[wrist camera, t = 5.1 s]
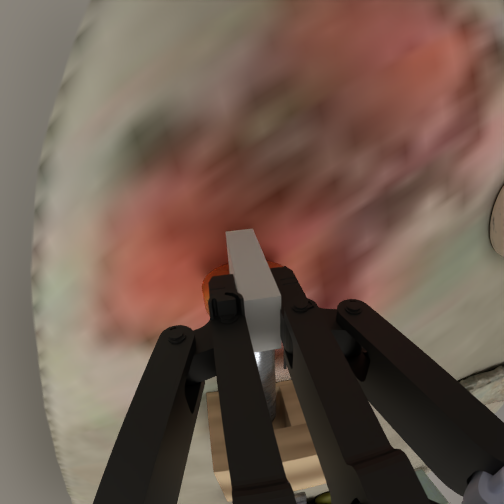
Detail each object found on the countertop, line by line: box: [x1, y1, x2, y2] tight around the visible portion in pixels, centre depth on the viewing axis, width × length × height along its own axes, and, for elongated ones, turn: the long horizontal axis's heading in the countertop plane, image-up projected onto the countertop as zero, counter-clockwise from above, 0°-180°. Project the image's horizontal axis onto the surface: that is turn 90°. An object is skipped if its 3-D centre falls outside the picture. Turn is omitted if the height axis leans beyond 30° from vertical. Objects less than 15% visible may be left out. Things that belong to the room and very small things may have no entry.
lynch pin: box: [202, 261, 283, 422], centre depth 21 cm, size 13×5×5 cm, turn 4°
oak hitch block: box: [206, 380, 326, 502], centre depth 25 cm, size 8×12×8 cm, turn 94°
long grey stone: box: [459, 366, 504, 405], centre depth 37 cm, size 35×5×10 cm
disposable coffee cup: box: [414, 468, 451, 504], centre depth 45 cm, size 11×11×15 cm
